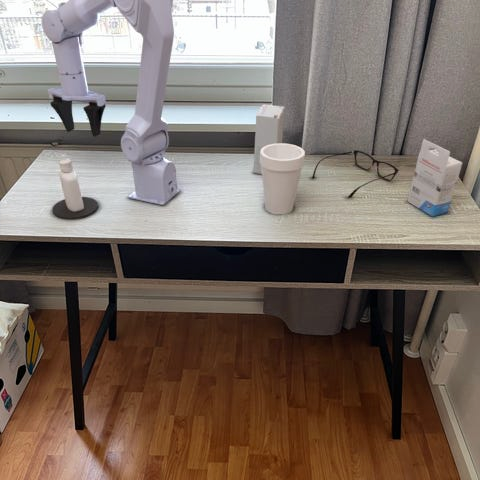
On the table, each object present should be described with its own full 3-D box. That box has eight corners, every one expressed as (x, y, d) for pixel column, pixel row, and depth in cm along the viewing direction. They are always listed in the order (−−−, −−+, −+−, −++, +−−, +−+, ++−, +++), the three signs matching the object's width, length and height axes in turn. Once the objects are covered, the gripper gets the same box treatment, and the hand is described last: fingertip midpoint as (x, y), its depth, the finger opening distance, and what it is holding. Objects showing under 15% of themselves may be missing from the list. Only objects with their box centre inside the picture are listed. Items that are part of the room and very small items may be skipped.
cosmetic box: (259, 161, 134) (261, 103, 124) (281, 163, 133) (285, 105, 123) (253, 174, 127) (254, 114, 118) (276, 176, 126) (279, 116, 117)
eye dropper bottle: (87, 200, 115) (76, 149, 107) (82, 212, 110) (71, 160, 103) (68, 201, 115) (55, 149, 107) (62, 213, 110) (49, 160, 103)
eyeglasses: (399, 184, 123) (403, 169, 121) (353, 201, 116) (356, 185, 114) (352, 162, 133) (354, 147, 131) (307, 176, 127) (308, 160, 124)
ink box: (449, 212, 112) (468, 148, 103) (432, 217, 110) (450, 152, 101) (423, 197, 118) (439, 134, 109) (406, 201, 116) (421, 138, 107)
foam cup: (271, 221, 109) (274, 163, 100) (251, 203, 115) (252, 148, 107) (307, 211, 112) (313, 155, 104) (286, 195, 118) (290, 140, 110)
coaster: (107, 203, 115) (106, 201, 115) (80, 223, 108) (79, 221, 108) (71, 195, 118) (71, 193, 118) (43, 214, 111) (42, 212, 111)
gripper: (33, 72, 111) (48, 133, 120) (87, 79, 107) (98, 142, 115) (54, 65, 116) (67, 124, 125) (106, 71, 112) (116, 132, 120)
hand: (83, 132), depth 120 cm, fingers open, 7 cm apart
